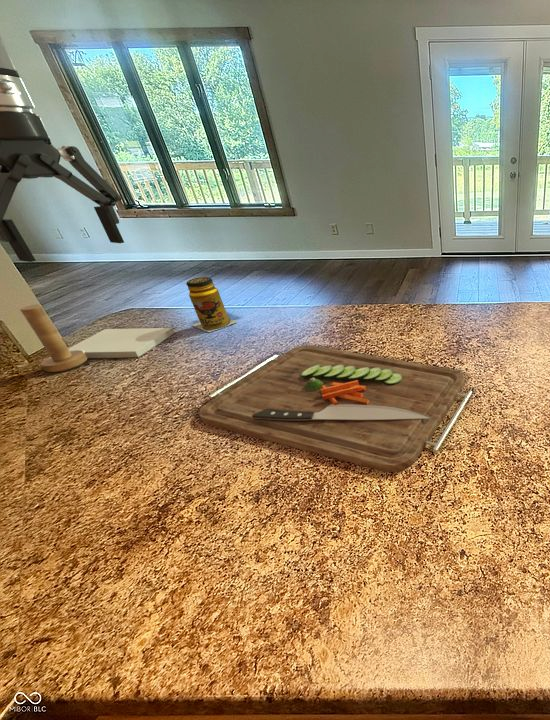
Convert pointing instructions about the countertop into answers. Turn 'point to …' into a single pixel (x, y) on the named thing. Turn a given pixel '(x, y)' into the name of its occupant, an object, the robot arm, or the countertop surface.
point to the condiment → (208, 305)
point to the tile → (122, 342)
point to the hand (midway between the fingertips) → (76, 251)
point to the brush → (52, 342)
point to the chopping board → (341, 405)
